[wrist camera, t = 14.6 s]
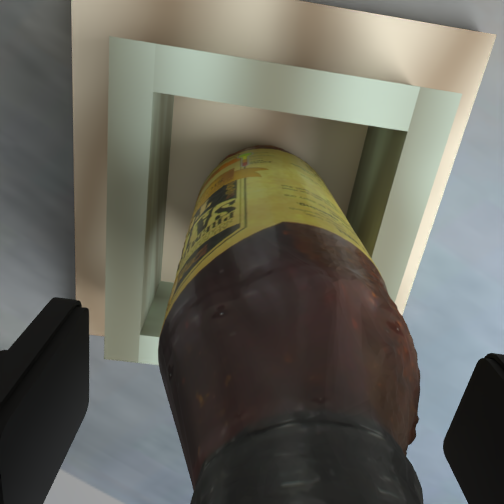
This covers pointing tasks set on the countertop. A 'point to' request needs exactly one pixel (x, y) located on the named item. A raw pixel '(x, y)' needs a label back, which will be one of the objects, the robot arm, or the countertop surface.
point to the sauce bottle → (286, 347)
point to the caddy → (252, 133)
